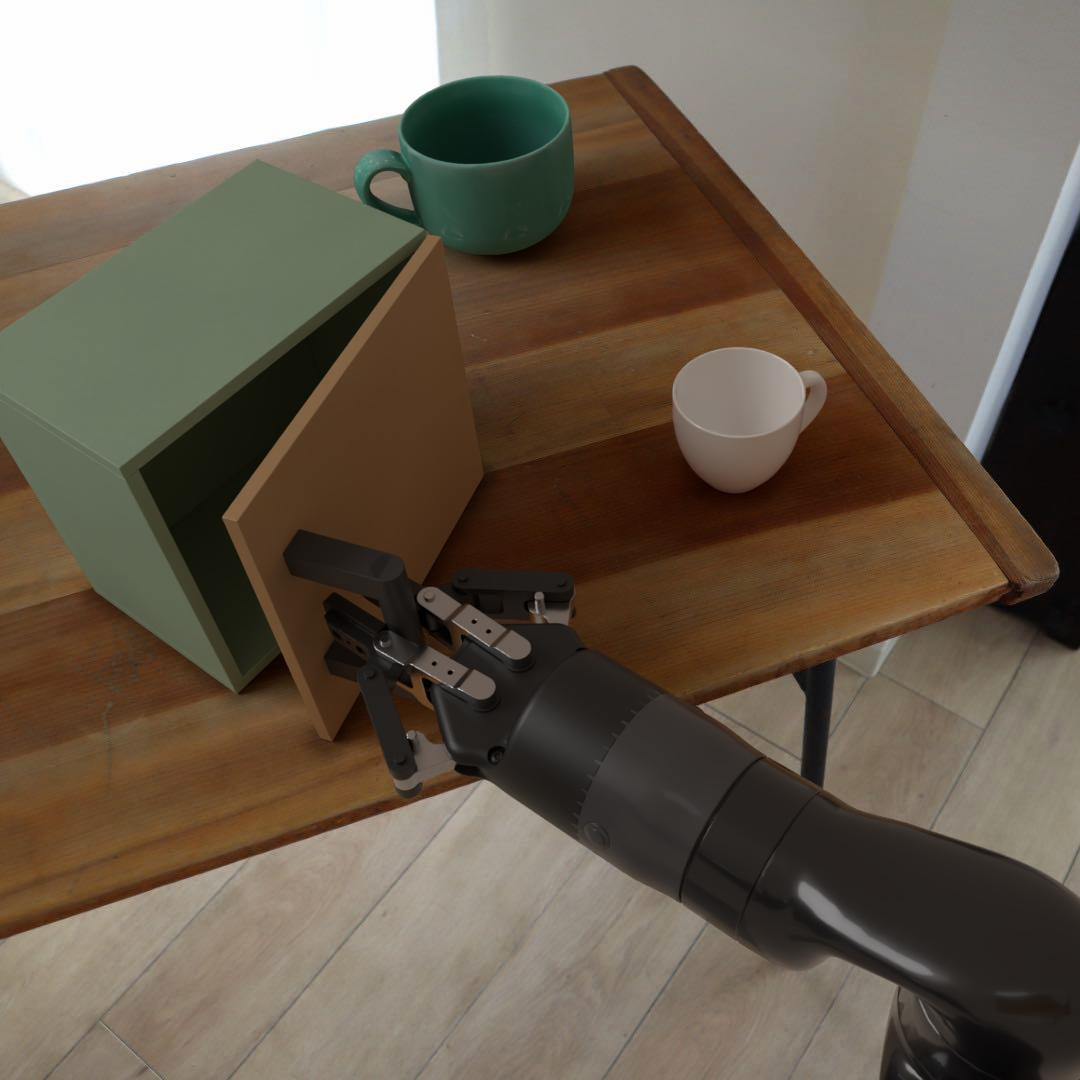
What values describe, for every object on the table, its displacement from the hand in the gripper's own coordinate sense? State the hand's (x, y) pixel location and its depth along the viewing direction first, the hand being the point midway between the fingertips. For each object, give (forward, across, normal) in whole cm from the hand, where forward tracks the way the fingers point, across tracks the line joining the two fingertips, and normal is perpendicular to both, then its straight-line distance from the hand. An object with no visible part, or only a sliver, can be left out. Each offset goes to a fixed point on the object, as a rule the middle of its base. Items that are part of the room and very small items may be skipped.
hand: (346, 592), depth 58 cm
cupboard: (+13, +6, -10) cm, 17 cm away
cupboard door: (+1, +7, -9) cm, 12 cm away
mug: (+23, +36, -10) cm, 44 cm away
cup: (-8, +26, -10) cm, 29 cm away
